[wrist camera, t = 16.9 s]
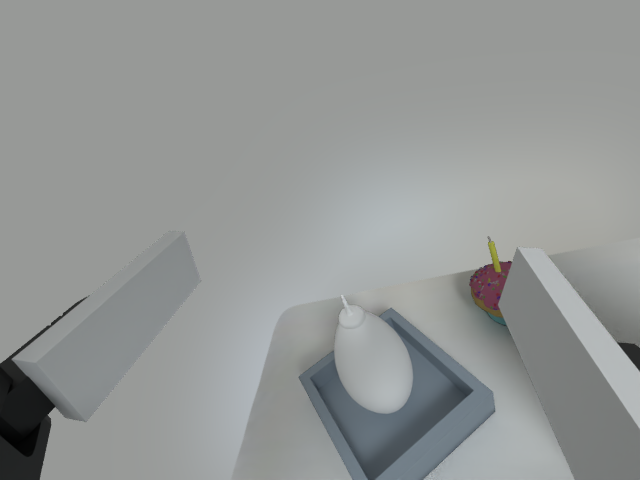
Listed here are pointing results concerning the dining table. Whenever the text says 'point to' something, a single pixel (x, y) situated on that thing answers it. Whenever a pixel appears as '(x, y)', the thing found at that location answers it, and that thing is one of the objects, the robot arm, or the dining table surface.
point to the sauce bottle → (372, 360)
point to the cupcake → (490, 285)
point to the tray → (401, 412)
